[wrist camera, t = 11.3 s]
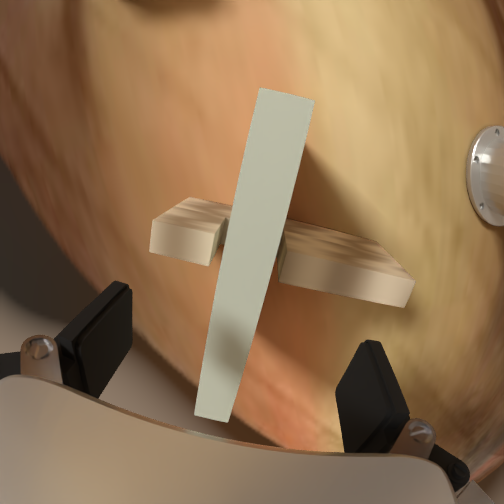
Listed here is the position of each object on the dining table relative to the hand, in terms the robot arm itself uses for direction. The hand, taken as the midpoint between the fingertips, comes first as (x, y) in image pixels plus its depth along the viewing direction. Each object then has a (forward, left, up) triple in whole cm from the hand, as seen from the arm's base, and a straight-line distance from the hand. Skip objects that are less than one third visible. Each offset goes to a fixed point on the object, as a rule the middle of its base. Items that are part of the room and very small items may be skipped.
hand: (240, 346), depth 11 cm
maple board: (-3, 0, -20) cm, 20 cm away
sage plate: (0, 0, -20) cm, 20 cm away
